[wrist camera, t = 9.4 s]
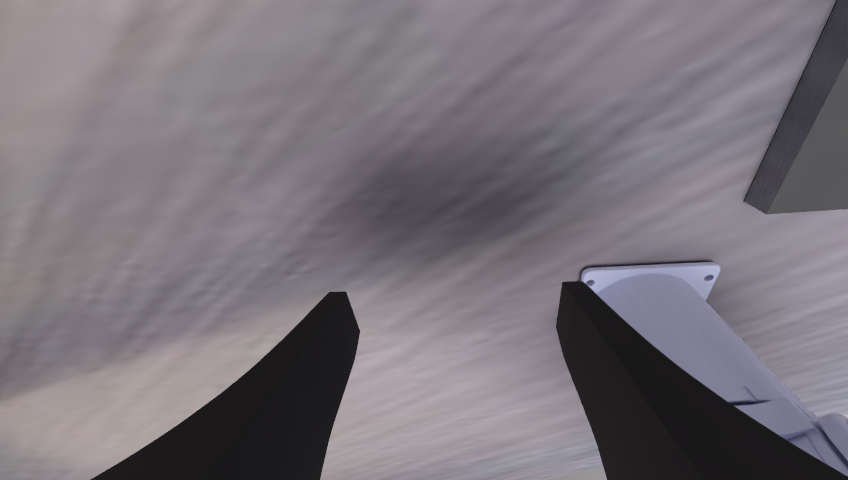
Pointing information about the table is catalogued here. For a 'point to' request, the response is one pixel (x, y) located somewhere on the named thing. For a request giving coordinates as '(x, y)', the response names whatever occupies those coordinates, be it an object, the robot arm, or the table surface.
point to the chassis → (811, 134)
